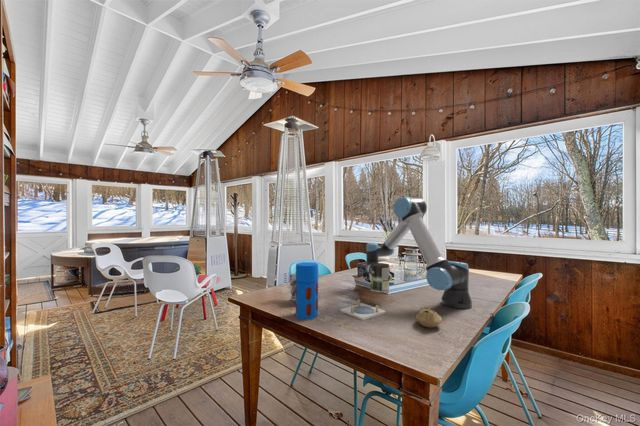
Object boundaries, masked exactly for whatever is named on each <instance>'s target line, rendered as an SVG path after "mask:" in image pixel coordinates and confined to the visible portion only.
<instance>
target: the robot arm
mask: <svg viewBox="0 0 640 426" xmlns="http://www.w3.org/2000/svg"><path fill="white" fill-rule="evenodd" d="M392 207H393V208H392V209H393V213H394V215H395V216H396V217H397V218H400V220H401V221H400V222H399V223H398V224H397V225H396V226H395V228H394V229H393V231H392V232H391V233H390V234H389V235H388V237H387V238H386V239H385V241H384V242H383V243H382V244H380V245H379V244H378V242H367V243H366V250H365V251H366V257H365V258H366V262H365V263H366V264H365V269H364V271H363V273H362V277H363V278H366V280H370V282H371V281H372V275H371V272H370V264H372V263H379V258H380V257H381V258H382V257H389V256H392V255H394V254H395V253H394V252H395V248H396V247H397V246H398V244H400V243H401V241H402V240H403V239H404V237H405V236H406V235H407V234H408V233H409V231H410V233H411V235H412V236H413V240H414V241H415V243H416V245H417V247H418V249H419V252H420V253H421V255H422V257H423V259H424V261H425V263H426V266H425V270H426V276H425V278H426V281H427V283H428V285H429V286H430V287H431V288H433V289H434V290H437V291H443V293H442V296H441V304H442V305H444V306H446V307H449V308H454V309H471V308H472V307H473V301H472V297H471V295H470V291H469V282H470V281H469V275H470V274H469V271H470V269H469V264H468V263H466V262H462V261H461V262H460V261H453V260H452V261H450V260H448V259H446V258H445V257H443V256H442V254H441V252H440V250H439V248H438V246H437V245H436V242H435V241H434V238H433V237H432V235H431V233H430V231H429V229H428V228H427V225H426V224H425V221H424V219H423V218H424V217H425V214H426V213H427V210H428V206H427V203H426V202H425V200H424V199H423V198H421V197H417V196H415V197H414V196H413V197H412V196H411V197H409V196H401V197H398V198H397V199H396V200H395V202H394V204H393V206H392ZM393 278H395V272H392V271H390V270H389V282H390V281H391V282H392V281H393Z"/></svg>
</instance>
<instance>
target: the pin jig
mask: <svg viewBox="0 0 640 426" xmlns="http://www.w3.org/2000/svg"><path fill="white" fill-rule="evenodd" d="M356 301H357V302H356V304H354V305H350V306H347V307H343V308H340V309H339V312H341V313H344V314H347V315H349V316H352V317H353V318H356V319H359V320H361V321H366V320H368V319H372V318H375V317H377V316H381V315H384V314H386V310H384V309H381V308H379V305H377V304H376V305H375V306H372V305H369V304H366V303H363V302H362V303H361V299H357V300H356Z"/></svg>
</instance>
